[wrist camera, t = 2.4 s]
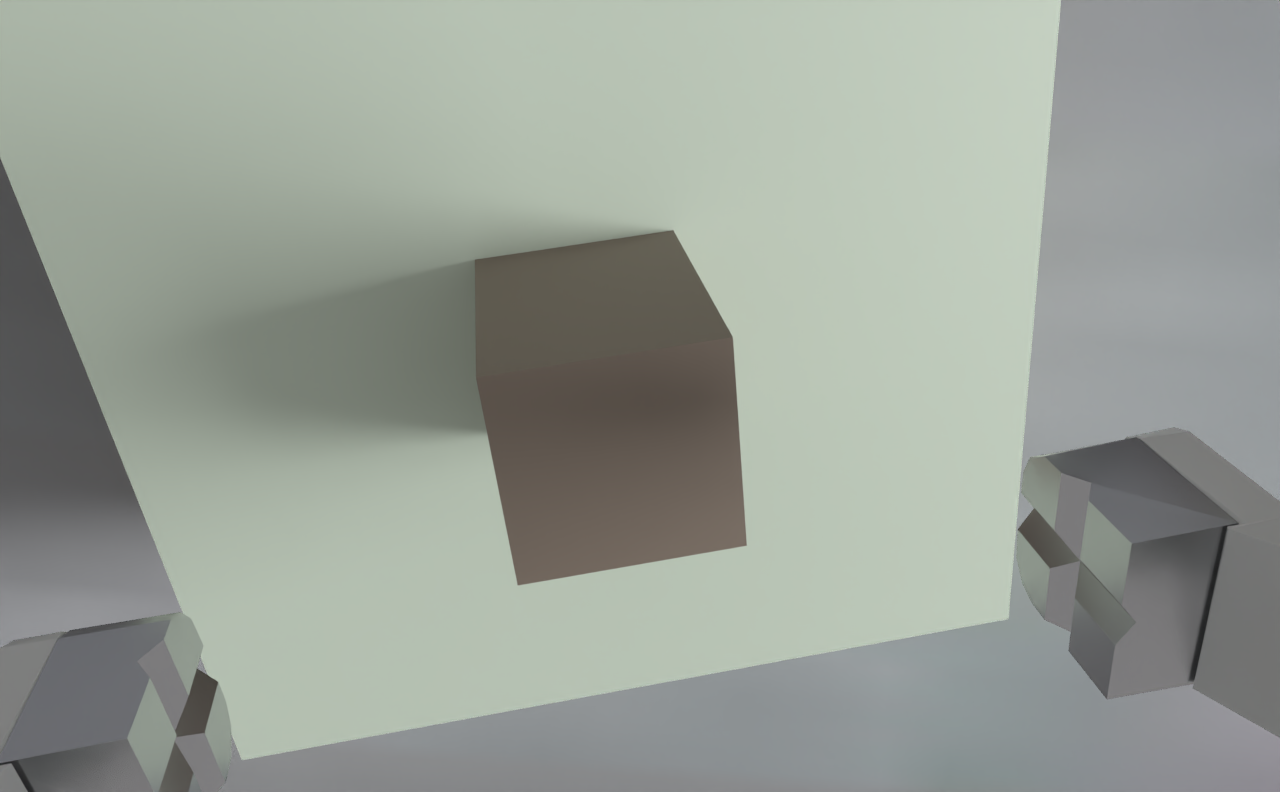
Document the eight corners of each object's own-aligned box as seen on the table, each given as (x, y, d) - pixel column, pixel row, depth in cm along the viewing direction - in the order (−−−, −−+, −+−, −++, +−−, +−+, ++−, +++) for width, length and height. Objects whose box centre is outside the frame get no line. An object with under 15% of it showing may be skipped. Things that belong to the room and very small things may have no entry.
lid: (990, 593, 21) (1122, 778, 17) (250, 728, 20) (189, 964, 15) (1052, -268, 14) (1307, -326, 10) (-87, -141, 13) (-366, -145, 8)
